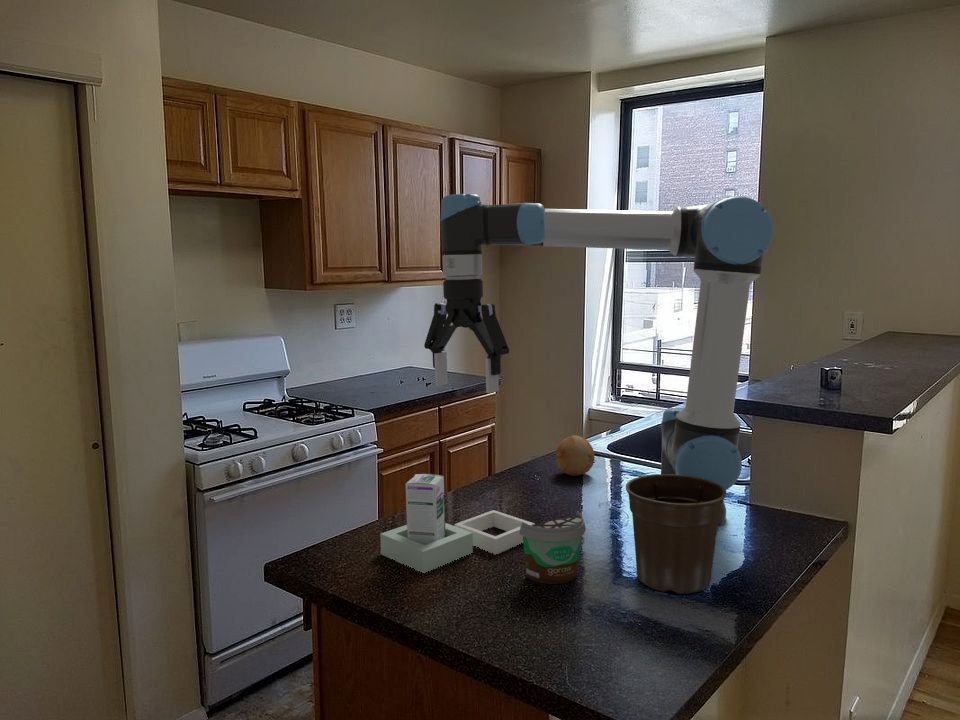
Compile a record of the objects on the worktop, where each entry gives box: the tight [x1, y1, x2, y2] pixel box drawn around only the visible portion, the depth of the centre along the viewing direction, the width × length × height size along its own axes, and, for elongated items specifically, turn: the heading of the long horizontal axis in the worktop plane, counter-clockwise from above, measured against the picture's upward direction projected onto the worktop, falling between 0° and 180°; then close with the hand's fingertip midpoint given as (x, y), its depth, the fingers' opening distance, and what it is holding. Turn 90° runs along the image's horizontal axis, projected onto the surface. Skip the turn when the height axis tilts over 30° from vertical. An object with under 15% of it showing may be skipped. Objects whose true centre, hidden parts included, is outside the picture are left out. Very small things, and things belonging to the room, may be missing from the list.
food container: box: [519, 510, 587, 585], centre depth 124 cm, size 12×6×10 cm, turn 117°
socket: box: [379, 522, 474, 574], centre depth 135 cm, size 12×12×4 cm
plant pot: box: [625, 473, 727, 595], centre depth 123 cm, size 16×16×16 cm
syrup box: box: [404, 473, 446, 545], centre depth 134 cm, size 6×6×14 cm
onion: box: [555, 434, 595, 477], centre depth 182 cm, size 10×10×10 cm
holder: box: [453, 509, 536, 556], centre depth 142 cm, size 11×11×3 cm
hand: (466, 388), depth 142 cm, fingers open, 13 cm apart
